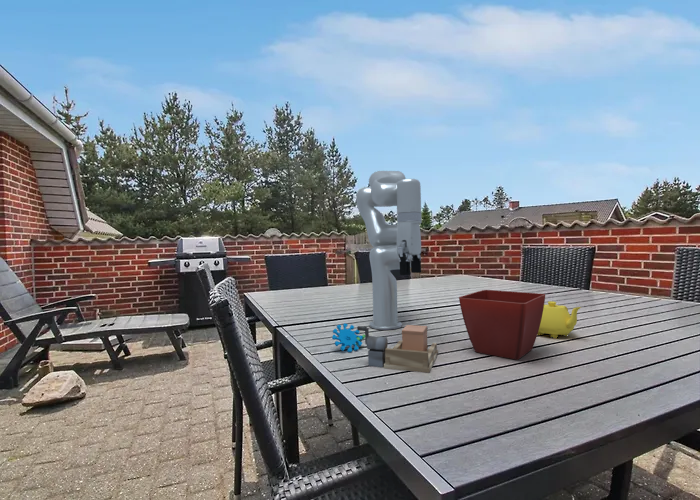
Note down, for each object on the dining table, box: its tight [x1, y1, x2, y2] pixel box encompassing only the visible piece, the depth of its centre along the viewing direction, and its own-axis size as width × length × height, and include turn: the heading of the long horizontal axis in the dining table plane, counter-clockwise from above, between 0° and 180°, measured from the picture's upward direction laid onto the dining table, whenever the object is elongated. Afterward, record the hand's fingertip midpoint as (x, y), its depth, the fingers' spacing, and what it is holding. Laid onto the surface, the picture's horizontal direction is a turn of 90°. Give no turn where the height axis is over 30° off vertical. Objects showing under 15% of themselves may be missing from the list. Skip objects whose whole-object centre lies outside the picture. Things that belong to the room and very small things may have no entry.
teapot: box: [538, 301, 582, 339], centre depth 130 cm, size 20×15×12 cm
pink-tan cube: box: [401, 324, 429, 351], centre depth 110 cm, size 7×6×7 cm
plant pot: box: [458, 289, 546, 360], centre depth 113 cm, size 19×19×17 cm
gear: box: [331, 322, 365, 353], centre depth 120 cm, size 11×6×10 cm
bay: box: [356, 325, 439, 373], centre depth 108 cm, size 17×20×10 cm
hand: (410, 273), depth 118 cm, fingers open, 9 cm apart
